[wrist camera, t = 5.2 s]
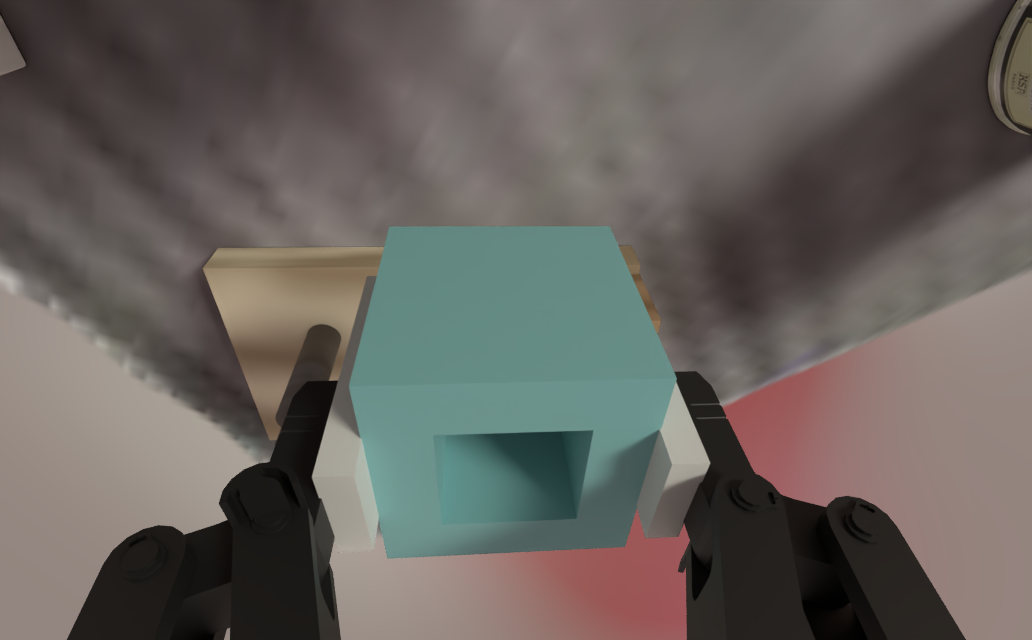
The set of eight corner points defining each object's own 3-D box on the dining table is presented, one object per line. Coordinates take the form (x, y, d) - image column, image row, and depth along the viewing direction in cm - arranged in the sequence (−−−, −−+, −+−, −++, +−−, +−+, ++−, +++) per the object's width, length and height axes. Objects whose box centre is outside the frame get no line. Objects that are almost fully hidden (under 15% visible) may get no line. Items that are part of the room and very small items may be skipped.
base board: (217, 247, 27) (123, 374, 20) (631, 245, 29) (687, 361, 22) (278, 416, 35) (227, 552, 28) (600, 407, 37) (633, 532, 30)
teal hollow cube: (389, 226, 14) (348, 386, 9) (609, 225, 15) (676, 378, 10) (409, 385, 18) (387, 558, 13) (584, 381, 18) (625, 547, 13)
